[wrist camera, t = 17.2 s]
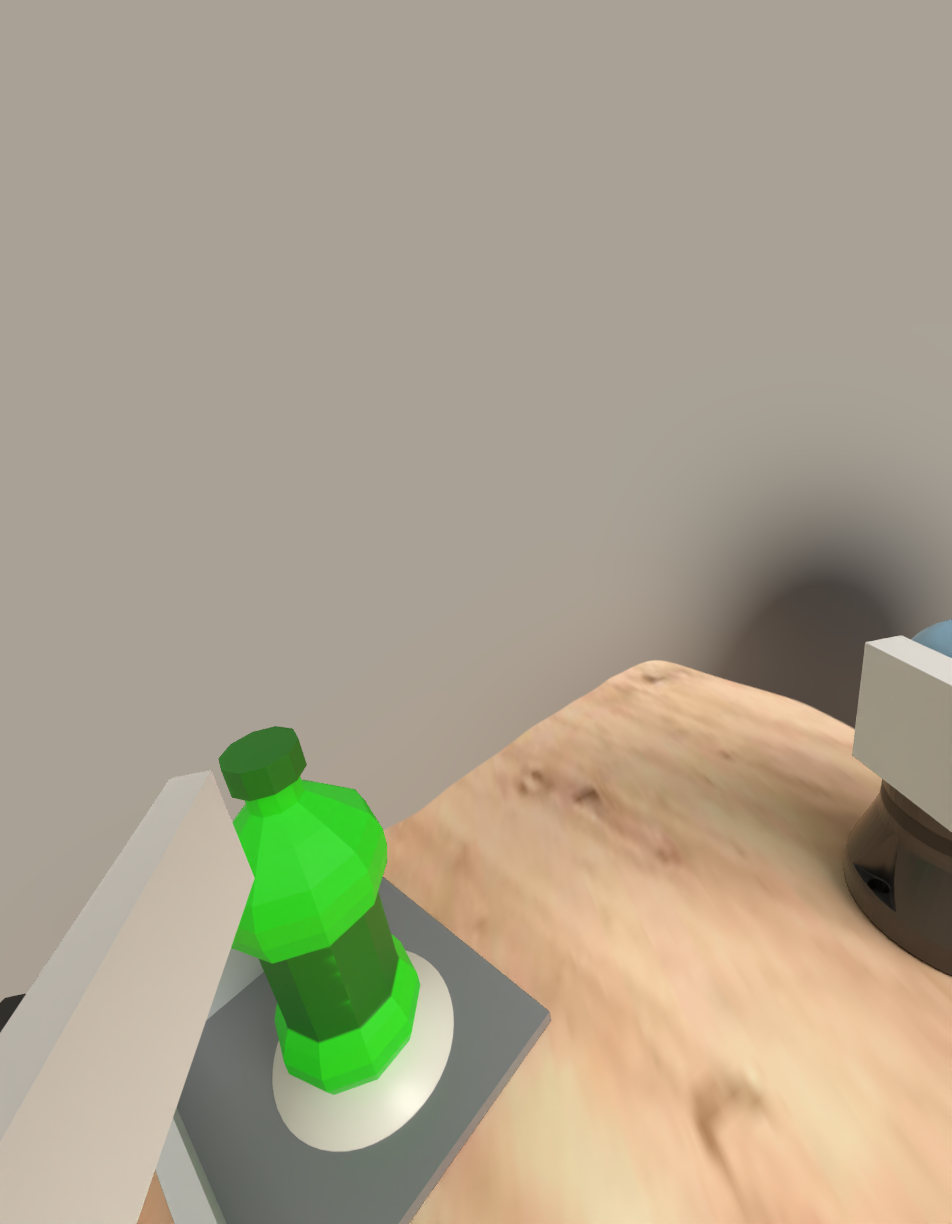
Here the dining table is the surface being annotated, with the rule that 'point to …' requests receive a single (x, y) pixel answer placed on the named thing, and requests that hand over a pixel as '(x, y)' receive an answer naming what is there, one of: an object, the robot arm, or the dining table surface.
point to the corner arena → (343, 1095)
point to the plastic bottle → (319, 916)
